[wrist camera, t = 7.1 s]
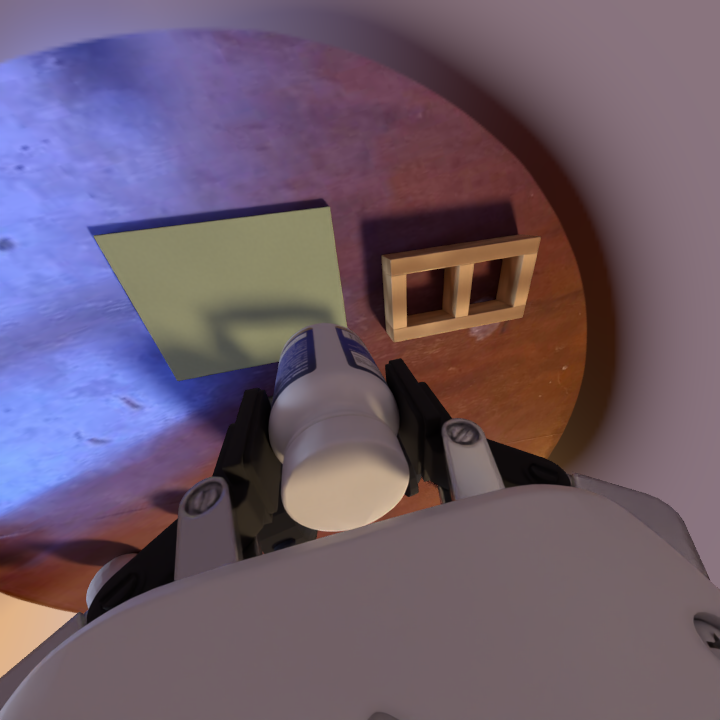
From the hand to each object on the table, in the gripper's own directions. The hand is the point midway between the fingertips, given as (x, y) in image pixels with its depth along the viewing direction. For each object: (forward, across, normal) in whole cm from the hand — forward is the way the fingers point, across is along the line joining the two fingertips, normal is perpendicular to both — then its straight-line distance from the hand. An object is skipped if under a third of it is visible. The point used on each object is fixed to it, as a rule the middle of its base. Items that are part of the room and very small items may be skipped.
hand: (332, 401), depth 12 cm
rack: (+19, -16, +2) cm, 25 cm away
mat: (+19, +7, 0) cm, 20 cm away
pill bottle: (+5, 0, 0) cm, 5 cm away
